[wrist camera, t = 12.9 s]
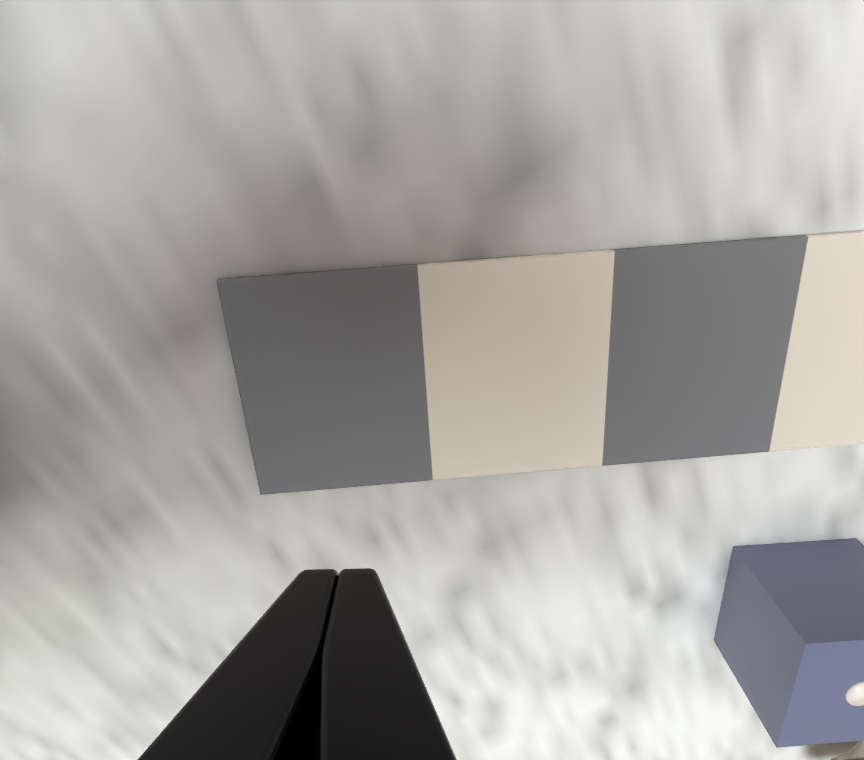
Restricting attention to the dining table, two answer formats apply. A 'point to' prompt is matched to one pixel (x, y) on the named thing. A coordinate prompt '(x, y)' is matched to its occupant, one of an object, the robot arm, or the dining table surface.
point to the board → (549, 360)
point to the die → (798, 637)
